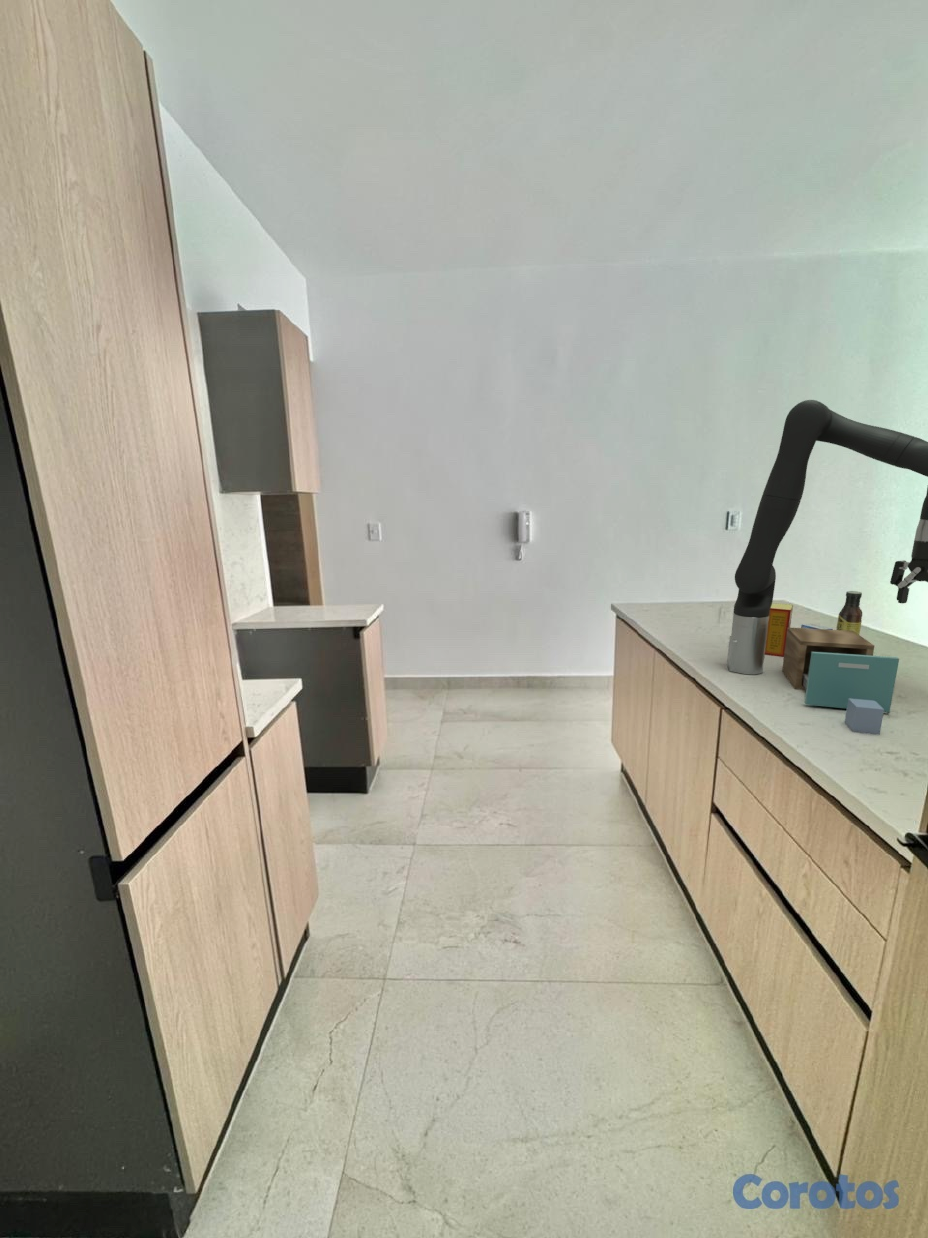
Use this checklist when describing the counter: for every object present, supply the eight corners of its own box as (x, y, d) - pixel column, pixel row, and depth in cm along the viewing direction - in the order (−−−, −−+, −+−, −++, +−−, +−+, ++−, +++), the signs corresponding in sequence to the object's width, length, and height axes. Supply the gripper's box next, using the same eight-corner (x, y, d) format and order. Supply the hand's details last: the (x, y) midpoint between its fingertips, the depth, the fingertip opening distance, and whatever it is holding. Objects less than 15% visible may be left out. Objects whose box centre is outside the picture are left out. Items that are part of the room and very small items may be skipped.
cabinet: (794, 689, 137) (801, 641, 134) (781, 671, 150) (787, 627, 147) (866, 695, 131) (874, 645, 128) (846, 676, 145) (853, 630, 142)
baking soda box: (765, 647, 174) (770, 601, 170) (787, 649, 170) (793, 603, 166) (761, 654, 167) (766, 606, 163) (784, 657, 163) (790, 609, 159)
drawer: (805, 704, 125) (813, 653, 122) (790, 683, 139) (797, 637, 136) (889, 712, 119) (899, 659, 116) (865, 690, 133) (873, 641, 130)
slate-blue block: (852, 731, 112) (856, 706, 111) (844, 722, 117) (848, 698, 115) (879, 734, 110) (884, 709, 109) (870, 725, 115) (875, 700, 113)
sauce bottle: (834, 646, 173) (842, 589, 168) (857, 649, 169) (866, 590, 164) (832, 651, 168) (841, 592, 163) (856, 654, 164) (865, 594, 159)
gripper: (891, 537, 124) (879, 602, 128) (963, 542, 111) (947, 614, 115) (911, 536, 126) (899, 599, 130) (984, 540, 113) (968, 611, 117)
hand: (922, 606), depth 122 cm, fingers open, 8 cm apart
